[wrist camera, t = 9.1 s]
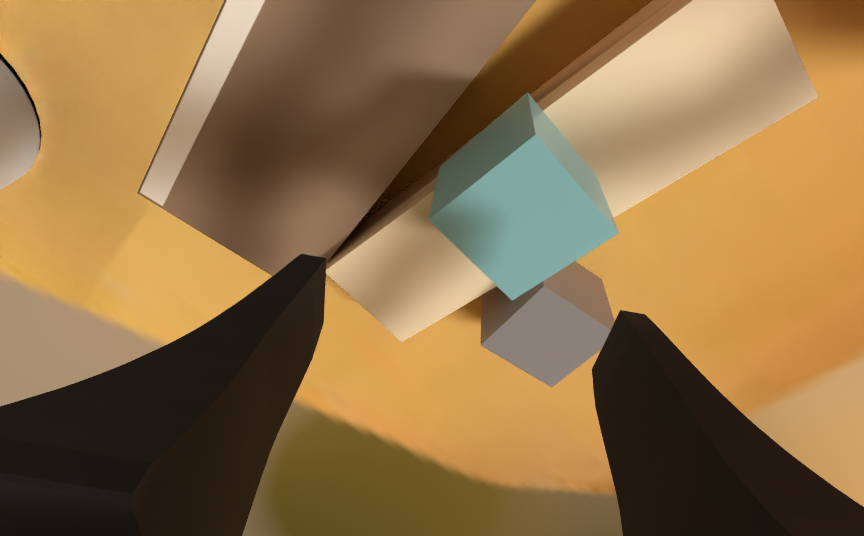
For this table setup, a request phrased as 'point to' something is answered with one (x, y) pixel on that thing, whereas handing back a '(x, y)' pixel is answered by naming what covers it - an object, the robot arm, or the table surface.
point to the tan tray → (599, 140)
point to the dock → (313, 114)
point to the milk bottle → (16, 126)
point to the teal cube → (520, 200)
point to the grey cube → (549, 324)
